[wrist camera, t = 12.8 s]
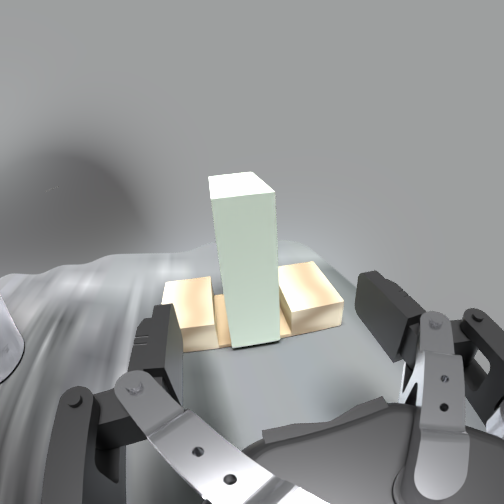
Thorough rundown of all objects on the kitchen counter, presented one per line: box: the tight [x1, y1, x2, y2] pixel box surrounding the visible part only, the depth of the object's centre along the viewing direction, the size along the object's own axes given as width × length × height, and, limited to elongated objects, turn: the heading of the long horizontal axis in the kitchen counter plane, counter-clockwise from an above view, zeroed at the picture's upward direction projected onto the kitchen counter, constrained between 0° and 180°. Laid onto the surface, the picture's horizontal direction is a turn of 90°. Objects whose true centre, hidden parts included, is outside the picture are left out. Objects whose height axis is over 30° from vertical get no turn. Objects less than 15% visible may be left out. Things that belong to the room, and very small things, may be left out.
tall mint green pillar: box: [209, 172, 280, 348], centre depth 21 cm, size 4×8×11 cm, turn 10°
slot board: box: [162, 261, 344, 352], centre depth 23 cm, size 14×7×2 cm, turn 100°
